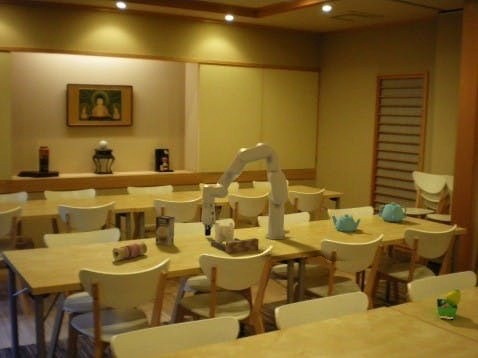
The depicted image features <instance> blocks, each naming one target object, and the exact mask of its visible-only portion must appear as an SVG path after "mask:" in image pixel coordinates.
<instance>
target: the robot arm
mask: <svg viewBox="0 0 478 358" xmlns="http://www.w3.org/2000/svg"><path fill="white" fill-rule="evenodd" d="M261 160H264V162H265V166H266V175H267V181H268V183H269V184H270V186H271V188H270V190H269V191H268V221H267V222H268V223H267V224H268V225H267V233H266V234H265V238H266V239H268V240H284V239H286V237H287V236H286V235H288V234H290V233H291V232H290V230H285V229H284V227H285V225H284V224H285V204H286V202H287V201H288V200H289V190H288V185H287V184H288V181H287V178H286V174H285V173H284V172H283V171H282V169H281V162H280V158H279V154H278V152H277V151H276V150H275V148H274V147H272V146H271V145H270V144H268V143H266V142H259V143H257V144H256V145H255V146H253V147H249V148H246V147H242V148H240V149H239V150H238V151H237V153H236V154H235V156H234V157H233V159H232V160H231V161H230V164H229V165H228V167H227V168H226V169H225V171H224V172H223V174H222V175H221V177H220V178H219V179H218V181H217V183H216V184H215V185H211V184H205V185H203V186H202V200H201V201H202V203H201V204H202V205H201V206H202V207H201V208H202V209H201V218H200V219H201V223H202V225H203V226H204V236H206V237H211V233H212V231H211V230H212V228H214V226H215V224H216V223H217V220H216V219H217V218H216V207H215V206H216V203H215V202H216V198H217V199H224V198H226V197H227V196H228V195H229V187H230V186H231V184H232V183H233V181H234V180H236V179H238V178H239V176H241V174H242V173H243V171H244V169H245V167H246V166H247V164H250V163H254V162H258V161H261Z"/></svg>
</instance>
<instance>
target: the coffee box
mask: <svg viewBox="0 0 478 358" xmlns="http://www.w3.org/2000/svg"><path fill="white" fill-rule="evenodd" d="M174 241H175V216H171V215H163V214H161V215H158V216H155V242H154V243H155V245H159V246H166V247H170V246H172V245H175V244H174V243H175V242H174Z"/></svg>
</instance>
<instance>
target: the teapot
mask: <svg viewBox="0 0 478 358" xmlns="http://www.w3.org/2000/svg"><path fill="white" fill-rule="evenodd" d="M331 217H332V222H333V224H334V225H333V226H335V229H336V230H337V231H338V232H343V233H352V232H355V231H356V230H357V229H358V226H359V224H360V222H361V220H362V219H360V218H358V219H357V220H356V221H355V219H354V217H353V215H351V214H347V213H345V214H344V215H340V216H339V217H338V219H337V218H336V216H335V215H332V216H331Z"/></svg>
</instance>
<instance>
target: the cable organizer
mask: <svg viewBox="0 0 478 358" xmlns="http://www.w3.org/2000/svg"><path fill="white" fill-rule="evenodd" d="M234 235H235V227H234V224H233V222H229V225H220V222H216V224H215V225H214V240H215V241H214V242H217V243H219V244H221V243H224V242H225V243H226V242H229V241H234Z"/></svg>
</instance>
